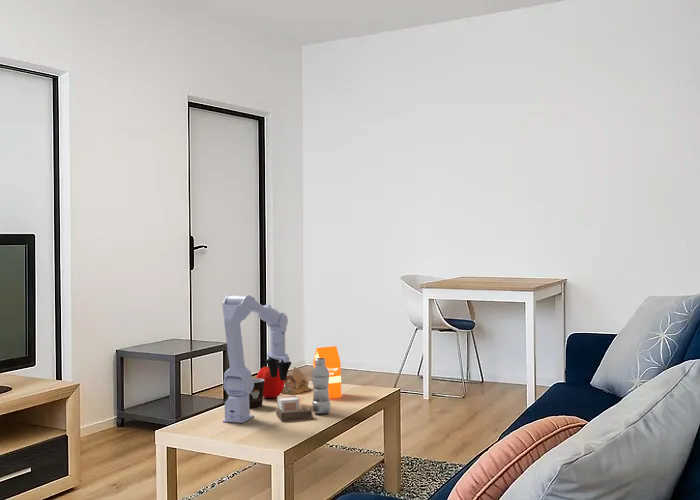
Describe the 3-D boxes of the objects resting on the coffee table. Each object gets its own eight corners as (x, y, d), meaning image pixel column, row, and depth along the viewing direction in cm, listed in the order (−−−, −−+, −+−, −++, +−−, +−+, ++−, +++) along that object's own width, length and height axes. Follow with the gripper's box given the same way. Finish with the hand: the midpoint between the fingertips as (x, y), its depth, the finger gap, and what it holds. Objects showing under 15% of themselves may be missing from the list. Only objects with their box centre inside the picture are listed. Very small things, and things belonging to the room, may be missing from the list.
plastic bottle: (328, 416, 258) (327, 360, 258) (310, 415, 259) (309, 360, 259) (332, 411, 264) (331, 357, 264) (314, 411, 266) (313, 357, 265)
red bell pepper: (281, 393, 298) (280, 361, 297) (287, 399, 286) (287, 366, 286) (253, 395, 294) (252, 363, 294) (259, 402, 282) (258, 368, 282)
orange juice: (313, 395, 292) (312, 346, 291) (333, 393, 295) (332, 344, 295) (321, 399, 285) (320, 349, 284) (341, 397, 288) (340, 347, 288)
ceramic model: (291, 387, 310) (290, 363, 310) (314, 388, 306) (314, 365, 306) (275, 393, 297) (274, 369, 297) (299, 395, 293) (299, 371, 293)
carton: (299, 412, 265) (298, 398, 264) (281, 414, 263) (281, 400, 263) (294, 407, 272) (294, 394, 272) (277, 409, 271) (277, 395, 270)
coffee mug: (267, 404, 279) (266, 378, 279) (262, 409, 270) (261, 382, 270) (237, 403, 280) (237, 378, 280) (232, 409, 271) (231, 382, 271)
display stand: (312, 418, 255) (311, 410, 254) (281, 421, 251) (281, 413, 251) (305, 412, 264) (305, 404, 264) (276, 414, 261) (276, 406, 261)
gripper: (296, 344, 274) (296, 380, 274) (278, 340, 286) (278, 374, 287) (279, 346, 270) (280, 382, 271) (262, 342, 282) (263, 376, 283)
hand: (278, 378), depth 278 cm, fingers open, 7 cm apart
